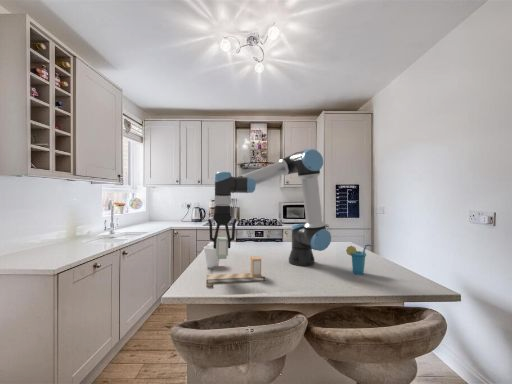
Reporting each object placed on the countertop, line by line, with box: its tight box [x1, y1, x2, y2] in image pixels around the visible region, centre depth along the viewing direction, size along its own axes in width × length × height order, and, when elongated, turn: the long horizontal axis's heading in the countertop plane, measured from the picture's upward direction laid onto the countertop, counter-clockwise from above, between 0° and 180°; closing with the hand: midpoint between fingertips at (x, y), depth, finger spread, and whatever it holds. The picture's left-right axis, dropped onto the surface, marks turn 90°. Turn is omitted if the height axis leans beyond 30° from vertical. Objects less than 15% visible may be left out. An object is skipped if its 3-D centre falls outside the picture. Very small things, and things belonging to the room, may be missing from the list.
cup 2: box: [345, 244, 374, 276], centre depth 136 cm, size 14×8×15 cm, turn 98°
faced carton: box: [250, 255, 262, 277], centre depth 125 cm, size 4×6×9 cm, turn 10°
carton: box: [217, 236, 228, 260], centre depth 122 cm, size 4×6×9 cm, turn 10°
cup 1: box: [203, 244, 220, 269], centre depth 145 cm, size 10×10×11 cm
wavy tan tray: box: [205, 272, 266, 287], centre depth 123 cm, size 26×12×3 cm, turn 100°
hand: (221, 255), depth 122 cm, fingers closed on carton, 4 cm apart
